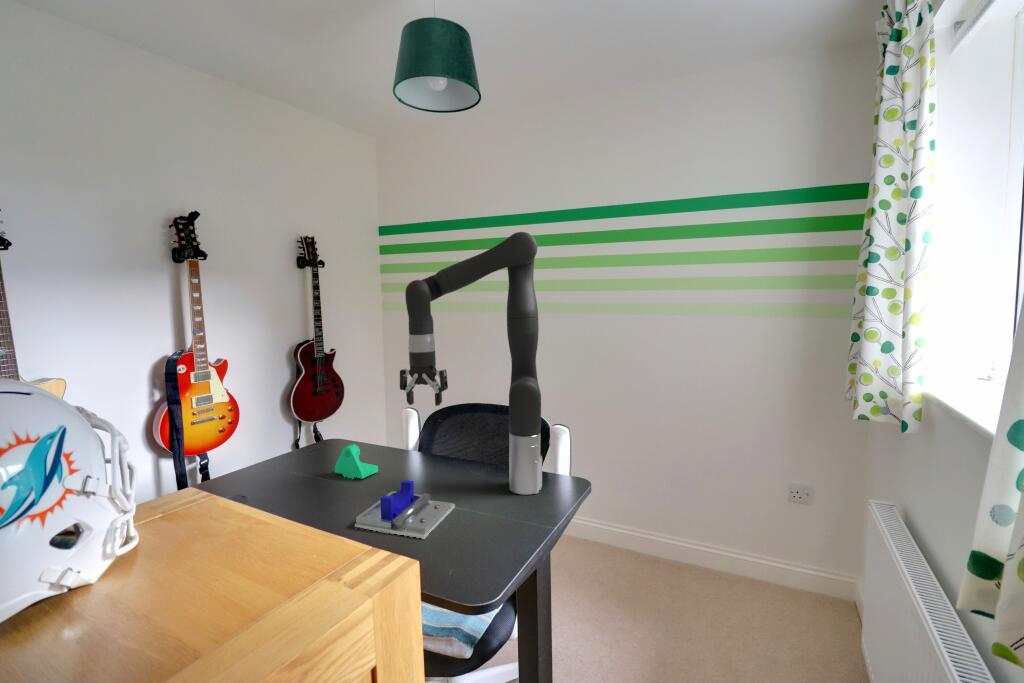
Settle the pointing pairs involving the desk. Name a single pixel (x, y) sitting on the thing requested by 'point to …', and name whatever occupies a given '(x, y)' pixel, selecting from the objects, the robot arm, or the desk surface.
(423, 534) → the hinge plate
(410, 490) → the blue stepped long block
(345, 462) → the camera mount
